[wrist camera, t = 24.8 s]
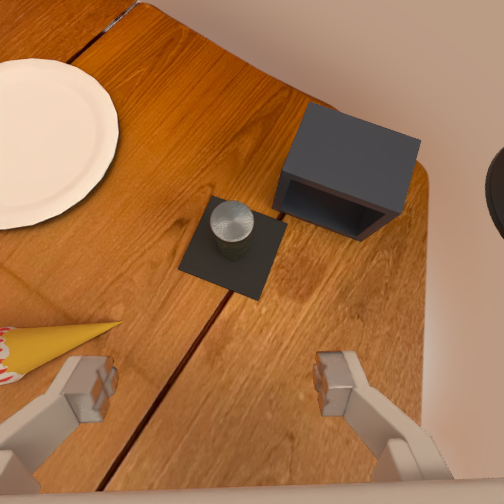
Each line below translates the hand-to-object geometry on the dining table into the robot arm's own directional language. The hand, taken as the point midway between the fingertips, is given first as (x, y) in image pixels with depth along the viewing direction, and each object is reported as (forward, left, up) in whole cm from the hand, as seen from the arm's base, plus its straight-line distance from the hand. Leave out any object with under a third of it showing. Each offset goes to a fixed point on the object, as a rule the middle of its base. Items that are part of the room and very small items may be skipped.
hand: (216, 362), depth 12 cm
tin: (+5, -12, -27) cm, 30 cm away
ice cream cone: (+22, +10, -27) cm, 36 cm away
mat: (+5, -12, -27) cm, 30 cm away
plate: (+41, -15, -27) cm, 51 cm away
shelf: (-5, -24, -27) cm, 37 cm away
